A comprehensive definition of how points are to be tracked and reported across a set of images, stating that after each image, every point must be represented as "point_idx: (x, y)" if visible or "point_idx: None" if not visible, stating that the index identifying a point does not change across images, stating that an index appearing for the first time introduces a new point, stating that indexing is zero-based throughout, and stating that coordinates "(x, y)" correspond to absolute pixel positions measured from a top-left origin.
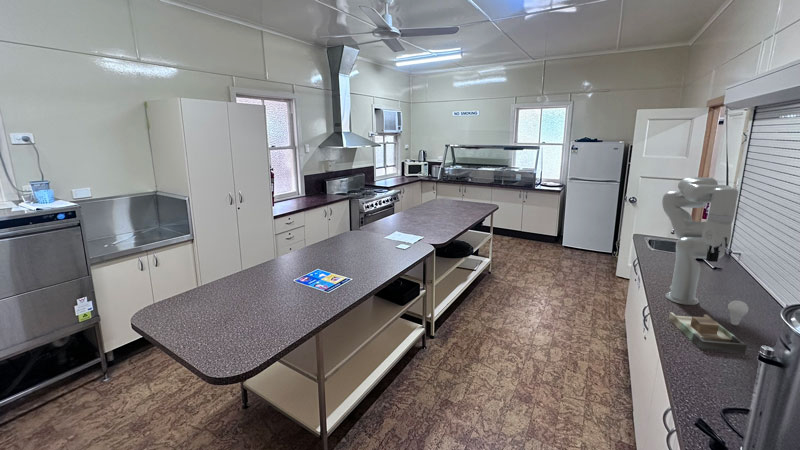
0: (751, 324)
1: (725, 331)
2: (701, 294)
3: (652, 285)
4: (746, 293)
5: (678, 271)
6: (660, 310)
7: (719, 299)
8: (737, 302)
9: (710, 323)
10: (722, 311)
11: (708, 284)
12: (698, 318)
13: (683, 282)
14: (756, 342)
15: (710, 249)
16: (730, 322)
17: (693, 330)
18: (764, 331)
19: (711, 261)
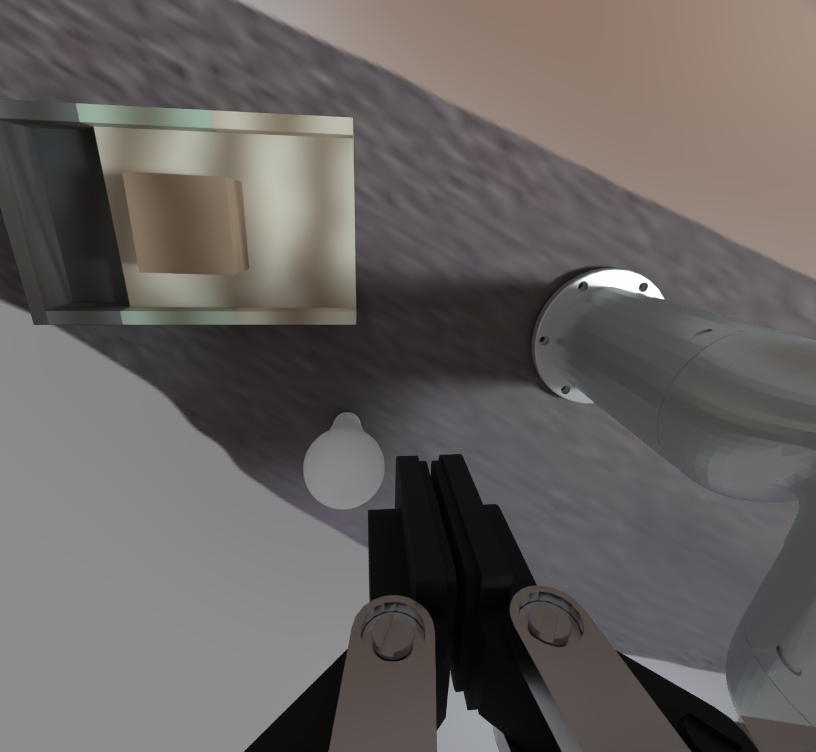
0: None
1: (173, 310)
2: (644, 454)
3: (774, 278)
4: (638, 607)
5: (721, 332)
6: (465, 144)
7: (591, 495)
8: (331, 475)
9: (151, 238)
10: (476, 446)
11: (735, 531)
12: (206, 203)
13: (629, 339)
14: (199, 417)
15: (518, 660)
16: (352, 413)
17: (175, 161)
18: (311, 496)
19: (395, 490)
